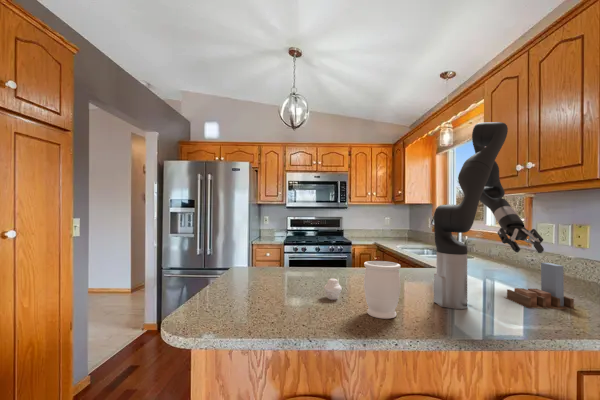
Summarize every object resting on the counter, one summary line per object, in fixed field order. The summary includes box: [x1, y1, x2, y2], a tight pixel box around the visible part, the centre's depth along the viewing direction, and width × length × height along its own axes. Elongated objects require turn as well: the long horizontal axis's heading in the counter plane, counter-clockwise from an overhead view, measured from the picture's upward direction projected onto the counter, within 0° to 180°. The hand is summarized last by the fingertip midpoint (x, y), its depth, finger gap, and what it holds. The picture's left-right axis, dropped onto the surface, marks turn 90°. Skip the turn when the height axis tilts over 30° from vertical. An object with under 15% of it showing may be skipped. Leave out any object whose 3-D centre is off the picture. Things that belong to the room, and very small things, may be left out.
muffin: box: [323, 278, 343, 301], centre depth 103 cm, size 6×6×7 cm
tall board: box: [540, 262, 565, 306], centre depth 100 cm, size 2×6×13 cm, turn 179°
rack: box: [505, 289, 575, 310], centre depth 100 cm, size 15×11×4 cm
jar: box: [363, 260, 402, 320], centre depth 88 cm, size 11×10×15 cm
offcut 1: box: [513, 287, 537, 306], centre depth 100 cm, size 3×6×4 cm, turn 179°
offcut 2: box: [527, 288, 551, 306], centre depth 100 cm, size 3×6×4 cm, turn 179°
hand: (529, 251), depth 110 cm, fingers open, 8 cm apart
